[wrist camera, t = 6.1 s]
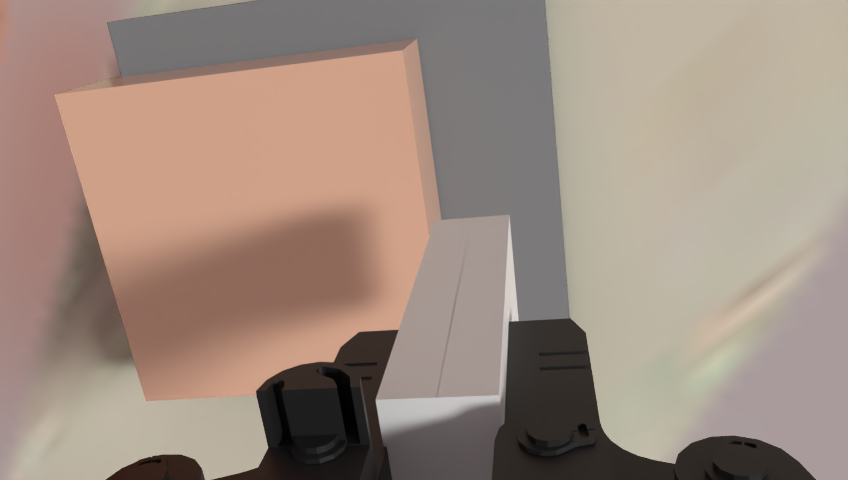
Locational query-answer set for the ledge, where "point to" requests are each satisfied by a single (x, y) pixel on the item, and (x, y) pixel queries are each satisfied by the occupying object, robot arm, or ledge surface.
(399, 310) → the block
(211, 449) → the ledge surface
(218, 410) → the ledge surface
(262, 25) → the mat
